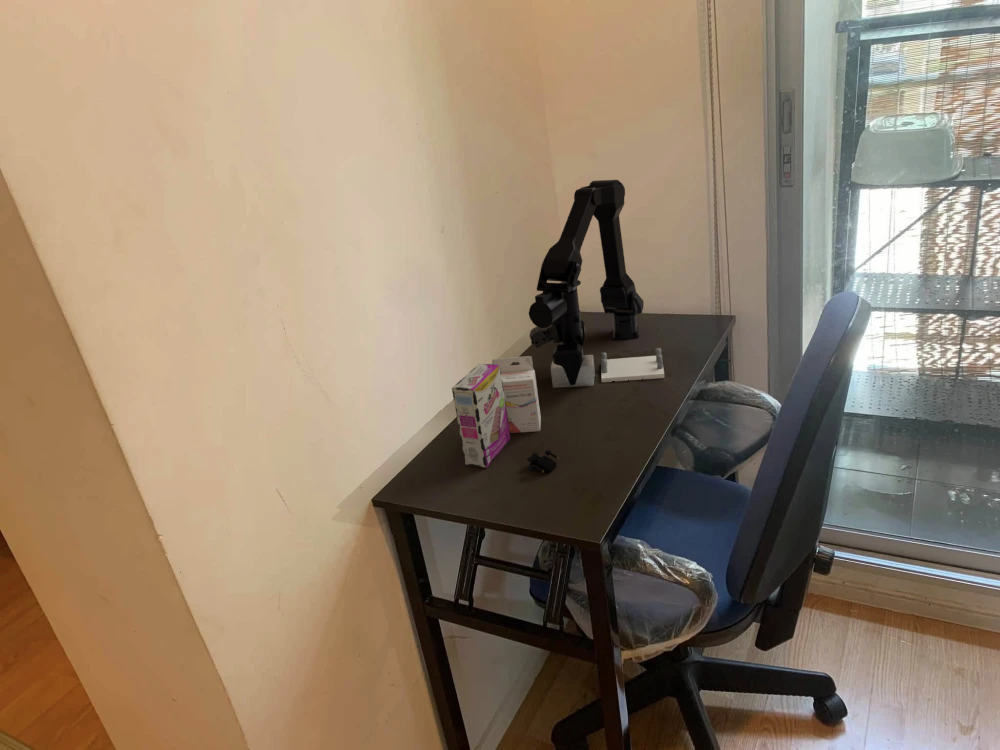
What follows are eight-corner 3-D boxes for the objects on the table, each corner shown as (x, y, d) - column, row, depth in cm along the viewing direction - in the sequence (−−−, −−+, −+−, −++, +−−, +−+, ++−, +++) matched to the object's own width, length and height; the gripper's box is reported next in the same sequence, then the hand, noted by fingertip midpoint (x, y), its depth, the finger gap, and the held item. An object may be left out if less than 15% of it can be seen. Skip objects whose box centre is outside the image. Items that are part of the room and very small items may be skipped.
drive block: (556, 376, 161) (553, 357, 159) (595, 374, 159) (593, 354, 157) (553, 388, 156) (550, 368, 153) (593, 386, 153) (591, 365, 151)
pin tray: (602, 363, 163) (600, 348, 161) (661, 359, 160) (660, 343, 159) (601, 382, 154) (600, 366, 152) (664, 377, 151) (663, 361, 150)
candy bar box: (488, 469, 128) (473, 390, 122) (464, 466, 131) (449, 388, 124) (513, 438, 137) (500, 363, 131) (490, 436, 140) (477, 362, 133)
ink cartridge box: (498, 435, 140) (487, 369, 134) (500, 423, 144) (489, 358, 138) (540, 431, 138) (531, 364, 132) (542, 419, 143) (532, 354, 137)
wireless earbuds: (543, 475, 122) (519, 462, 124) (541, 486, 123) (518, 472, 125) (564, 456, 127) (541, 443, 129) (562, 466, 128) (539, 453, 130)
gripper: (533, 300, 160) (541, 361, 166) (524, 330, 143) (534, 397, 150) (581, 295, 158) (588, 357, 164) (578, 325, 141) (586, 393, 148)
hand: (573, 375), depth 157 cm, fingers open, 9 cm apart
